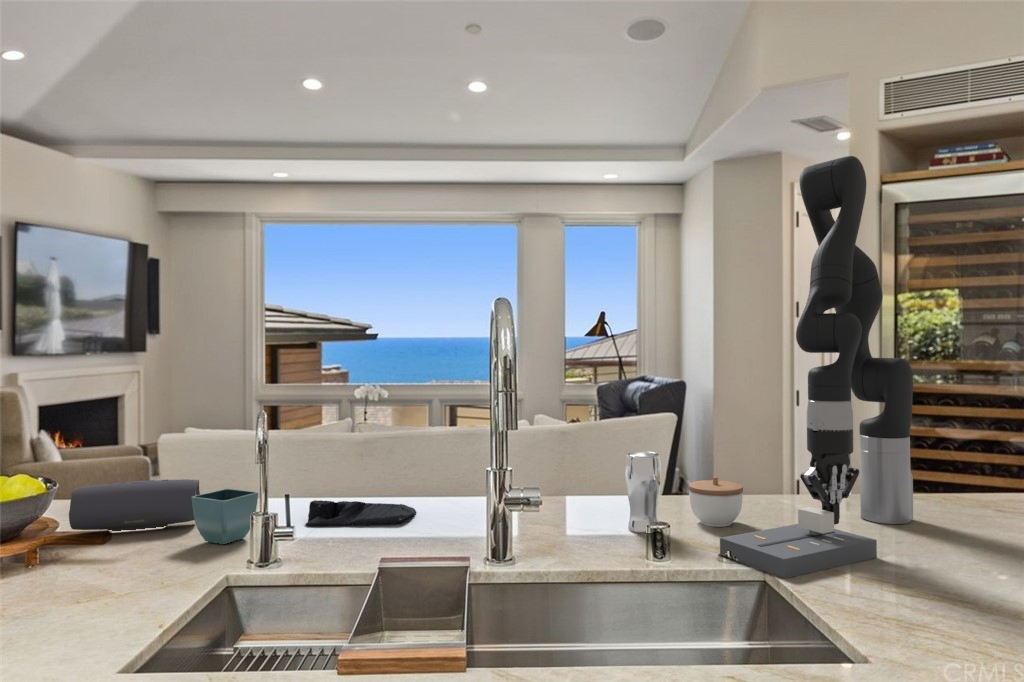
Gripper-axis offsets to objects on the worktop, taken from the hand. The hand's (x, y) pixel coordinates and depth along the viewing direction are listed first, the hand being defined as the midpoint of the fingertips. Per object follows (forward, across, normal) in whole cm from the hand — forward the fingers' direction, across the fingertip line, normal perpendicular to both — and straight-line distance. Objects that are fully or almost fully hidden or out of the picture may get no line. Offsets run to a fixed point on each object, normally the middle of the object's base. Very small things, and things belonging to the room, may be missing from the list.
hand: (830, 523), depth 126 cm
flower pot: (+5, +94, -60) cm, 112 cm away
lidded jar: (+5, +4, -24) cm, 25 cm away
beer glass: (+5, +20, -27) cm, 34 cm away
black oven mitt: (+5, +66, -65) cm, 93 cm away
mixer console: (+5, +8, 0) cm, 9 cm away
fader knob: (+1, +4, 0) cm, 4 cm away
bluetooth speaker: (+5, +109, -78) cm, 134 cm away
